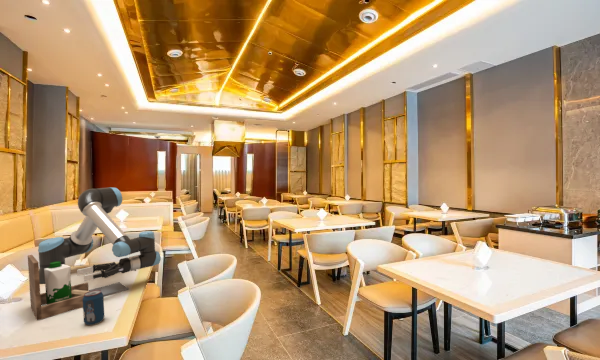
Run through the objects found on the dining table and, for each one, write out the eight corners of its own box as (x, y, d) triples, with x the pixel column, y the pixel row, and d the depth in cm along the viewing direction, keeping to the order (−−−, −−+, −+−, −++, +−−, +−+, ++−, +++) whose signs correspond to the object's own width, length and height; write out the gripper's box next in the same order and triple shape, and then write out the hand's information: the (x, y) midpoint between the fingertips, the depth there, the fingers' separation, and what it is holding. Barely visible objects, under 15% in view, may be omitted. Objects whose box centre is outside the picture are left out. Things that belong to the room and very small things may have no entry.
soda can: (102, 316, 127) (100, 287, 127) (106, 321, 123) (105, 292, 122) (82, 322, 122) (80, 293, 122) (86, 328, 118) (84, 297, 117)
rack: (87, 291, 155) (85, 245, 154) (98, 302, 141) (96, 251, 141) (30, 307, 139) (27, 255, 138) (37, 320, 125) (33, 263, 125)
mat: (119, 283, 166) (119, 282, 166) (128, 289, 156) (128, 288, 156) (88, 291, 155) (88, 290, 155) (96, 298, 146) (96, 297, 146)
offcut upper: (74, 294, 147) (74, 289, 147) (92, 296, 144) (91, 291, 144) (66, 297, 144) (66, 292, 143) (83, 299, 140) (83, 294, 140)
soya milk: (66, 300, 145) (64, 259, 144) (75, 304, 140) (72, 261, 140) (44, 307, 137) (41, 264, 137) (52, 312, 133) (49, 267, 132)
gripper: (138, 276, 152) (88, 289, 136) (121, 266, 169) (75, 277, 153) (137, 261, 152) (87, 272, 136) (120, 253, 168) (74, 263, 153)
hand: (80, 275), depth 144 cm, fingers open, 13 cm apart
